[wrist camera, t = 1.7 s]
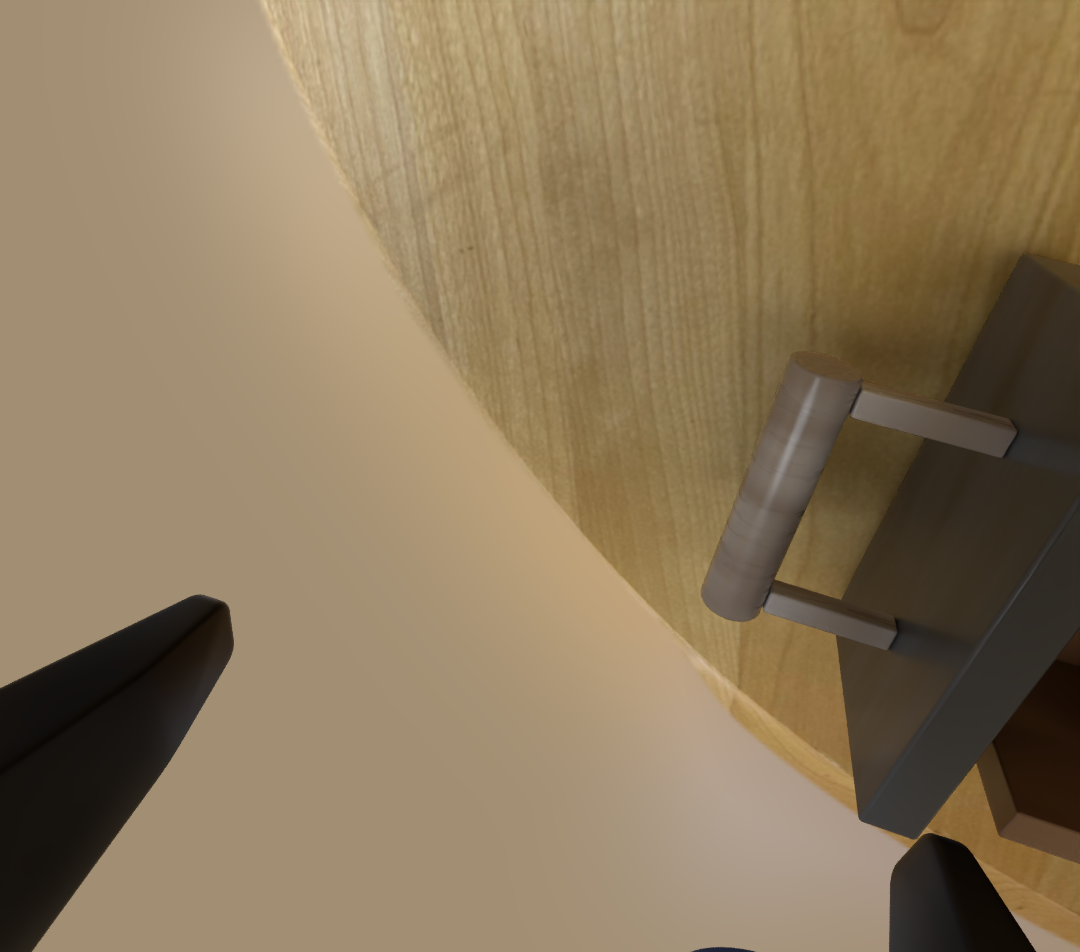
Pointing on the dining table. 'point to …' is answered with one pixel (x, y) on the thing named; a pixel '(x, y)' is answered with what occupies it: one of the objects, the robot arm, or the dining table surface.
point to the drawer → (944, 569)
